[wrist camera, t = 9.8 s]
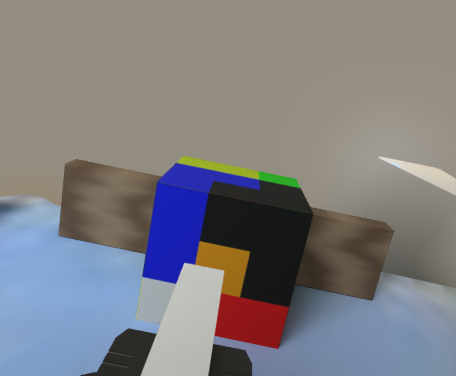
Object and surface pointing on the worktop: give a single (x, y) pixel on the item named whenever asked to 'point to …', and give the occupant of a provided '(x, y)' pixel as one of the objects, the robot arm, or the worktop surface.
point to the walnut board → (142, 211)
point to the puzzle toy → (227, 244)
